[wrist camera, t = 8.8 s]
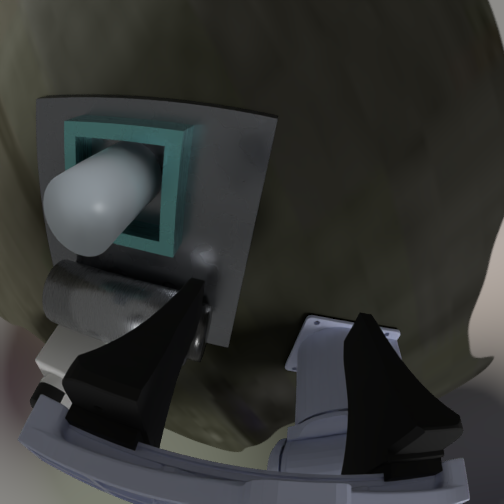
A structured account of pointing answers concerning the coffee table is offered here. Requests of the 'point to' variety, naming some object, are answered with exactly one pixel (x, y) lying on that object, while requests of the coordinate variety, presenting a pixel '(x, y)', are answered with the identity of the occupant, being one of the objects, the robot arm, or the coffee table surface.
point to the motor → (158, 211)
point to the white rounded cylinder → (101, 196)
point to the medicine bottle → (60, 362)
